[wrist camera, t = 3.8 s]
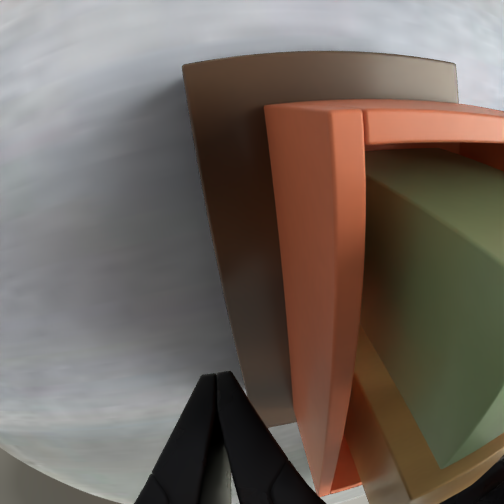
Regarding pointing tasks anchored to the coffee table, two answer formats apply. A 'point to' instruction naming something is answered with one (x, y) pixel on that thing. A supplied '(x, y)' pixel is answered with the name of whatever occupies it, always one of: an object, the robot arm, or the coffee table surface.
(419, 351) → the sage block
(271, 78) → the stand
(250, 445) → the robot arm
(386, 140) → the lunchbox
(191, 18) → the coffee table surface
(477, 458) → the beech block
